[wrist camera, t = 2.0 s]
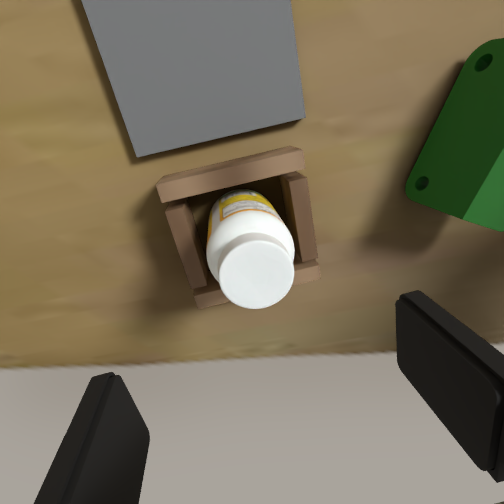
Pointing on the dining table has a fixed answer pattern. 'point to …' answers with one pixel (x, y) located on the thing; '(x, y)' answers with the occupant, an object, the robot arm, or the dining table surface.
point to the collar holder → (231, 175)
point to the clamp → (467, 145)
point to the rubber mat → (198, 67)
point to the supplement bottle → (249, 249)
